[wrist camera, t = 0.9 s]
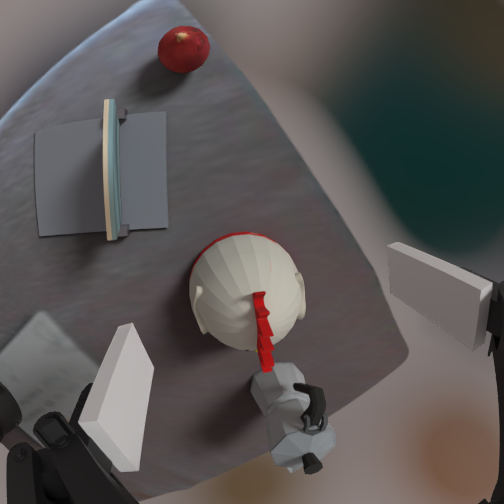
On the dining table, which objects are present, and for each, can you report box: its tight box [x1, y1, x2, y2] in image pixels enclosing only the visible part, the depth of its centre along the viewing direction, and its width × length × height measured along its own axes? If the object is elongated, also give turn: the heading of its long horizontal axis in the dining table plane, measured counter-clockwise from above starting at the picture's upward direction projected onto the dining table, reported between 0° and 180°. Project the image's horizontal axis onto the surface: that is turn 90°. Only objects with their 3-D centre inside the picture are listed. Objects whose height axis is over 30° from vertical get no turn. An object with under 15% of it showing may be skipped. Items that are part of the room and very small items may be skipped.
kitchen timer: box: [189, 232, 306, 373], centre depth 32 cm, size 14×14×15 cm
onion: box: [158, 26, 210, 73], centre depth 27 cm, size 6×6×8 cm
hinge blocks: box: [116, 108, 130, 237], centre depth 32 cm, size 2×15×1 cm, turn 0°
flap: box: [103, 99, 122, 240], centre depth 27 cm, size 13×12×1 cm
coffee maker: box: [250, 362, 336, 474], centre depth 36 cm, size 15×9×18 cm, turn 171°
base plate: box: [35, 111, 169, 236], centre depth 32 cm, size 18×14×1 cm
